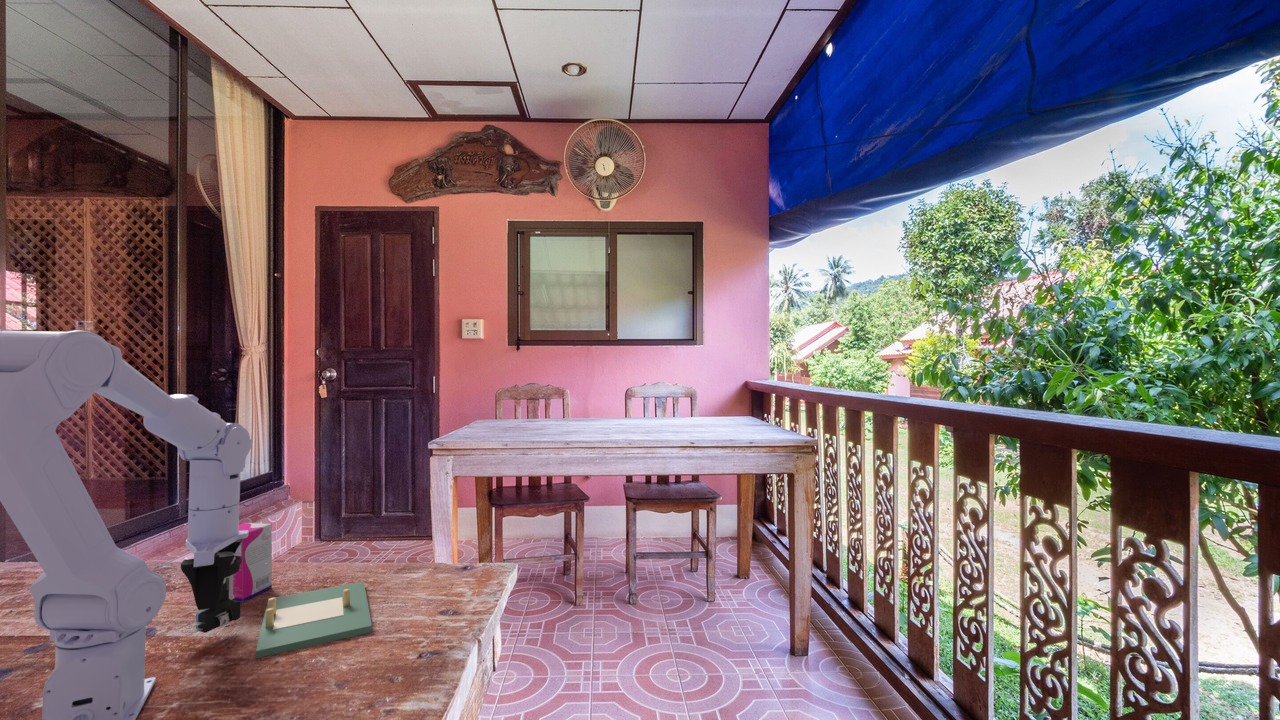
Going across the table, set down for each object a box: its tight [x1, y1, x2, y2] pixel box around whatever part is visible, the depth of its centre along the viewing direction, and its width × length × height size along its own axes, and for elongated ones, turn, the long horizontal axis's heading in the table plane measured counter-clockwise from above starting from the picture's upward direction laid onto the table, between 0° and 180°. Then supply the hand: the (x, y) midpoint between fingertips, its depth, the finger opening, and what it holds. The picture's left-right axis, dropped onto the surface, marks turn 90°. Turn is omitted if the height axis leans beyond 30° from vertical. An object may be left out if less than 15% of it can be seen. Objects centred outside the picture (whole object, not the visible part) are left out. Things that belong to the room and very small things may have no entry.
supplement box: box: [232, 522, 273, 603], centre depth 89 cm, size 6×6×12 cm
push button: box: [184, 552, 242, 636], centre depth 74 cm, size 7×5×10 cm
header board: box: [255, 581, 373, 659], centre depth 81 cm, size 18×14×4 cm
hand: (211, 599), depth 75 cm, fingers closed on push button, 5 cm apart
